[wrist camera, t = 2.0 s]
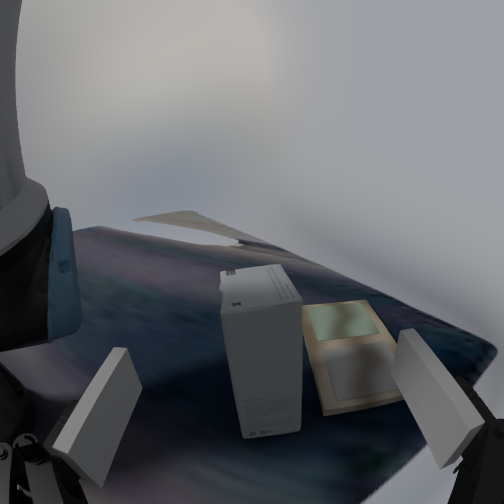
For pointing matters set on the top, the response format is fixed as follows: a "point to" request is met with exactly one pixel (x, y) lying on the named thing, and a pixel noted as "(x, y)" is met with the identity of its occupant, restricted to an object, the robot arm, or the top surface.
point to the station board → (349, 356)
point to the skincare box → (263, 348)
